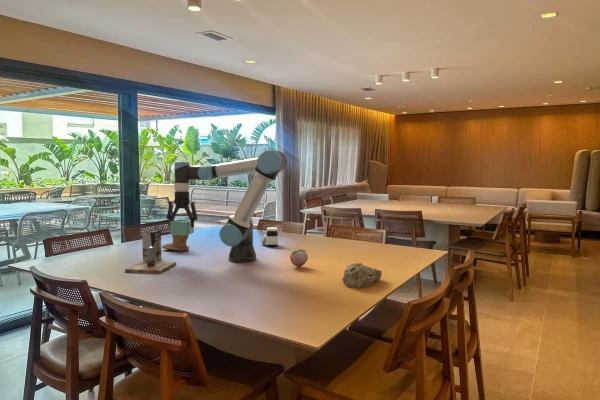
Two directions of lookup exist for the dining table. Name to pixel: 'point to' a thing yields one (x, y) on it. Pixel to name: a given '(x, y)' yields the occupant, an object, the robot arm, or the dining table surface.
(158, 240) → the coffee box
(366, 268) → the rock
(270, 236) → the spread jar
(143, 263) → the base plate
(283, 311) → the dining table surface
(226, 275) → the dining table surface
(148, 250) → the post
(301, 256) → the decorative fruit
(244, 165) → the robot arm
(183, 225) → the teal hollow square block
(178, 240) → the brown piece
